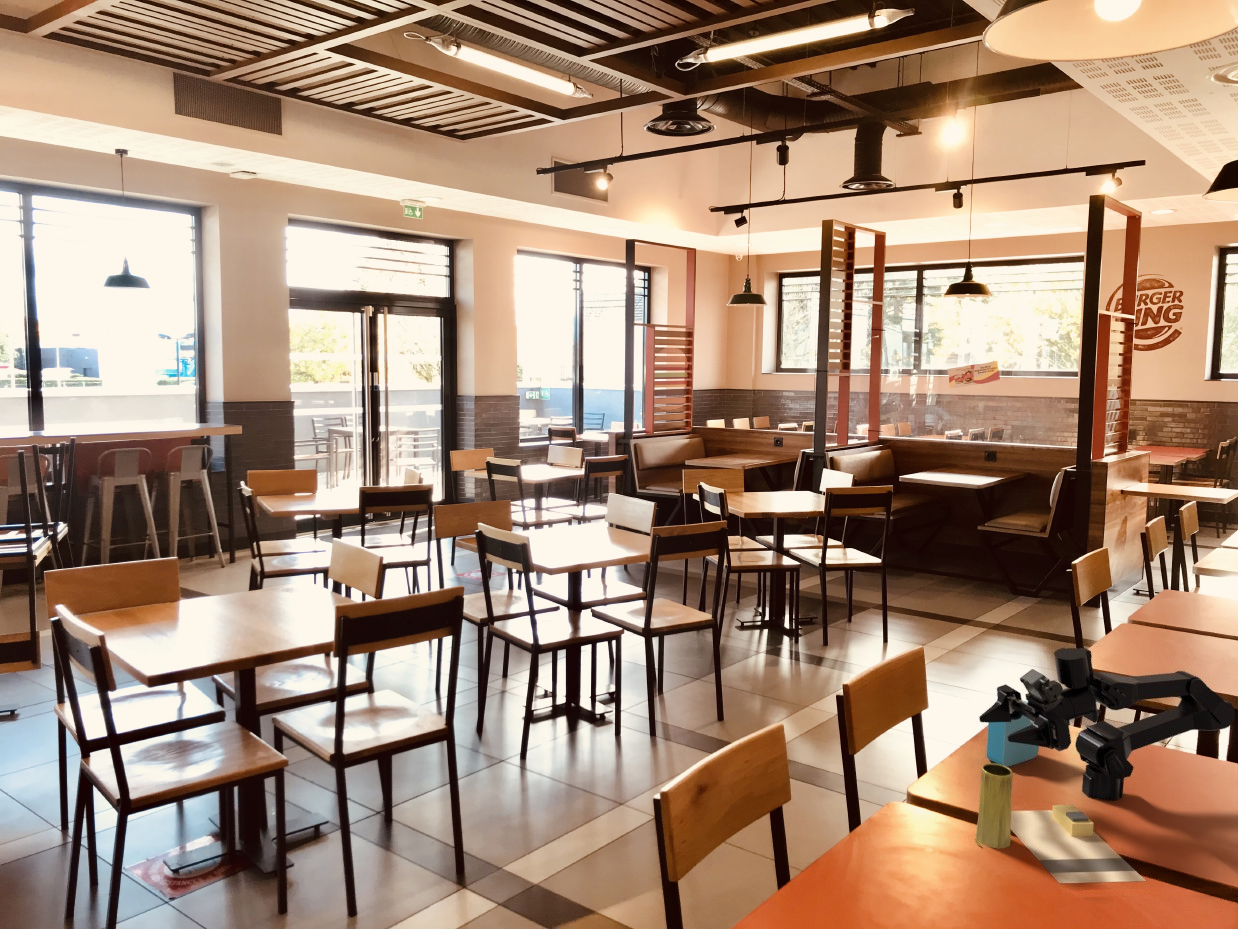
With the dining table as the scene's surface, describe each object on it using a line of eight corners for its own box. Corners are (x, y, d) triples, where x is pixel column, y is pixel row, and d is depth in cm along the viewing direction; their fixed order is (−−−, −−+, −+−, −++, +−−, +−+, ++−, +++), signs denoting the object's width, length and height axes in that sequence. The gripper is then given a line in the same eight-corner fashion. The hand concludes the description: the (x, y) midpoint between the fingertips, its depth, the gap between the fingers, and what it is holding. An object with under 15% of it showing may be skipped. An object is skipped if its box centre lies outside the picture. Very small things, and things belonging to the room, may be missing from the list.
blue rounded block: (1020, 749, 209) (1024, 698, 207) (1038, 757, 205) (1042, 705, 203) (985, 761, 203) (988, 708, 201) (1003, 769, 199) (1006, 715, 197)
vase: (994, 856, 165) (999, 780, 163) (967, 839, 171) (971, 766, 169) (1018, 847, 168) (1023, 773, 166) (990, 832, 173) (995, 759, 172)
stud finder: (1052, 817, 177) (1053, 802, 177) (1072, 816, 178) (1073, 801, 177) (1071, 836, 170) (1072, 820, 170) (1092, 835, 171) (1093, 820, 170)
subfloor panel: (1070, 813, 180) (1070, 809, 180) (1145, 885, 156) (1146, 881, 156) (994, 815, 179) (994, 811, 179) (1059, 887, 156) (1059, 883, 156)
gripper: (1028, 651, 190) (960, 673, 187) (1091, 684, 171) (1017, 709, 169) (1036, 701, 192) (968, 724, 189) (1099, 739, 173) (1026, 764, 171)
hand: (993, 729), depth 179 cm, fingers open, 9 cm apart
